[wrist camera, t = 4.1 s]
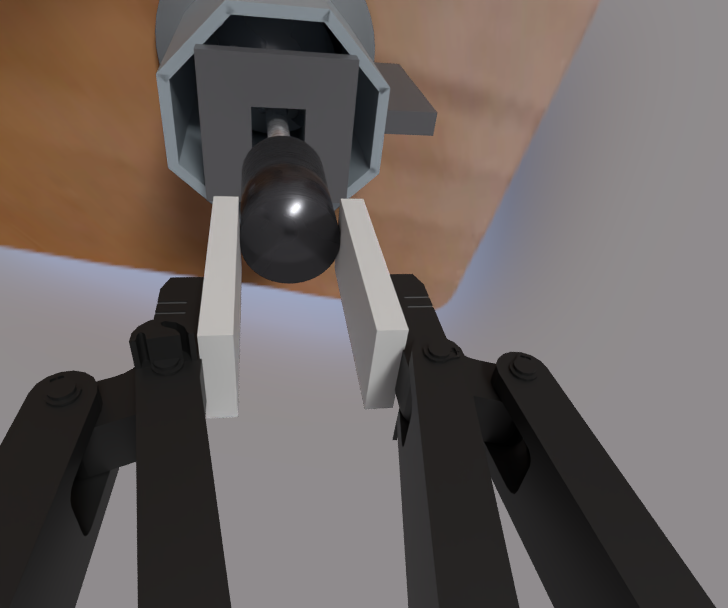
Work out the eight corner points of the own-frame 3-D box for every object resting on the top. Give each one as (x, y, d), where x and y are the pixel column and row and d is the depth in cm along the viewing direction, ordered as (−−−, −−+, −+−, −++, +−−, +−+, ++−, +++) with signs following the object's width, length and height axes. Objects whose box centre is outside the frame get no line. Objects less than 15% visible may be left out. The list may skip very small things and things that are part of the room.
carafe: (195, 128, 37) (173, 231, 26) (179, -47, 31) (142, -4, 20) (380, 136, 39) (428, 232, 29) (400, -24, 33) (472, 24, 23)
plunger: (208, 126, 34) (174, 339, 19) (197, -16, 30) (139, 111, 14) (330, 131, 36) (394, 332, 20) (339, -3, 31) (433, 125, 15)
